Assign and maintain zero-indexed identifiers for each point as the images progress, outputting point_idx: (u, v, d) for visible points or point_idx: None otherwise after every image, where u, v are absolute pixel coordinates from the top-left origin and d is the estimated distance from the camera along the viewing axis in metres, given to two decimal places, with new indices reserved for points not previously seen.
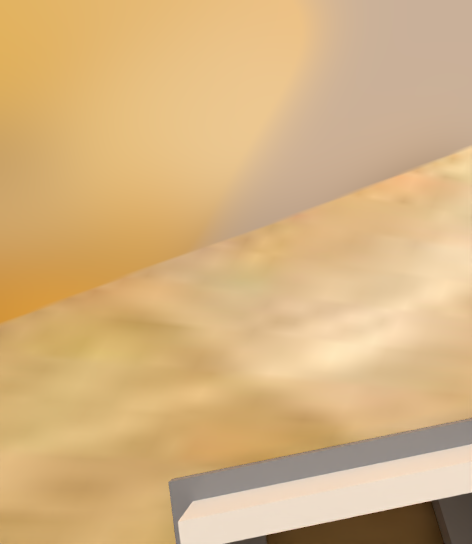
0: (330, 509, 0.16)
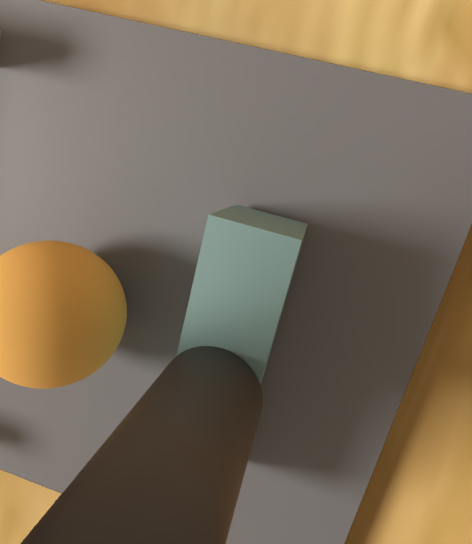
0: None
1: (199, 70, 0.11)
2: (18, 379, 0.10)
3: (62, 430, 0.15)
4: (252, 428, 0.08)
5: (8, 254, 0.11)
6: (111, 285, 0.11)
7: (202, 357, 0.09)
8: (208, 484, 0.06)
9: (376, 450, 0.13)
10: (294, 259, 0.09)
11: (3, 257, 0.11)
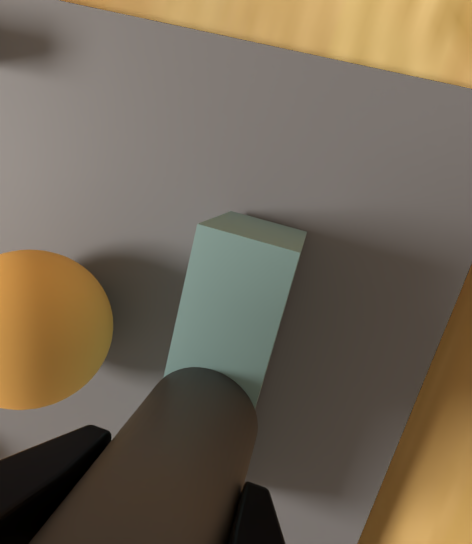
0: None
1: (190, 66, 0.11)
2: None
3: None
4: (245, 462, 0.07)
5: None
6: (95, 298, 0.10)
7: (190, 381, 0.08)
8: (190, 542, 0.05)
9: (380, 473, 0.12)
10: (292, 273, 0.08)
11: None
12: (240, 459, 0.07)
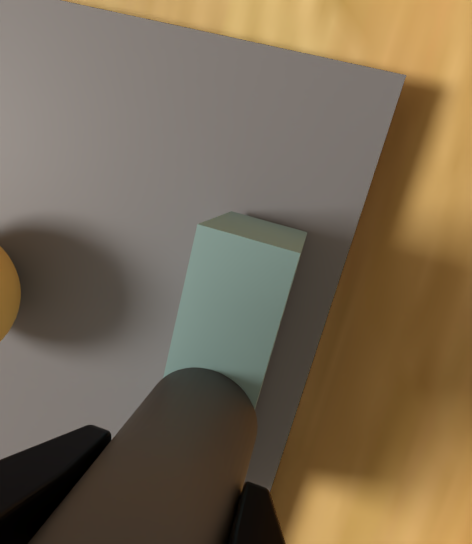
0: None
1: (87, 43, 0.11)
2: None
3: None
4: (244, 463, 0.07)
5: None
6: None
7: (190, 381, 0.08)
8: (190, 543, 0.05)
9: (281, 439, 0.12)
10: (292, 274, 0.08)
11: None
12: (239, 460, 0.07)
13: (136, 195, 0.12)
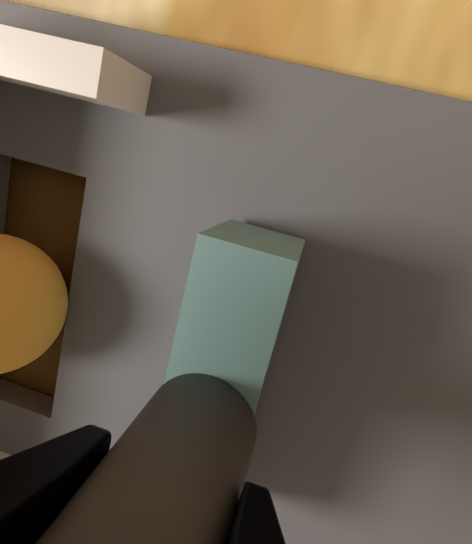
0: None
1: (388, 123, 0.10)
2: None
3: None
4: (244, 467, 0.07)
5: (45, 255, 0.12)
6: None
7: (191, 387, 0.08)
8: None
9: None
10: (290, 282, 0.08)
11: (48, 258, 0.12)
12: (239, 464, 0.07)
13: (425, 284, 0.11)
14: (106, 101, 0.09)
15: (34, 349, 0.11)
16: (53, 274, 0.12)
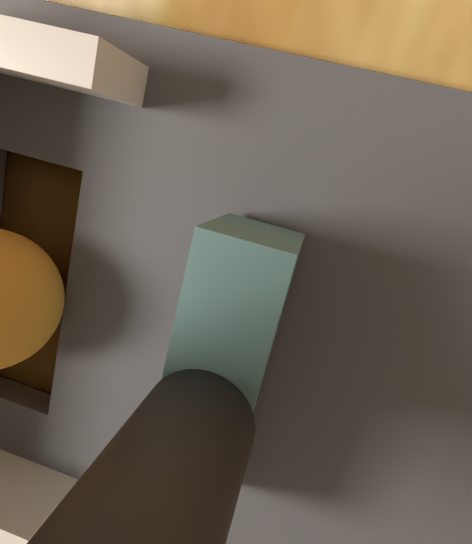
0: None
1: (389, 115, 0.10)
2: None
3: None
4: (242, 464, 0.07)
5: (41, 250, 0.12)
6: None
7: (188, 383, 0.08)
8: None
9: None
10: (289, 276, 0.08)
11: (44, 253, 0.12)
12: (237, 461, 0.07)
13: (426, 278, 0.11)
14: (102, 92, 0.09)
15: (30, 345, 0.11)
16: (49, 269, 0.12)
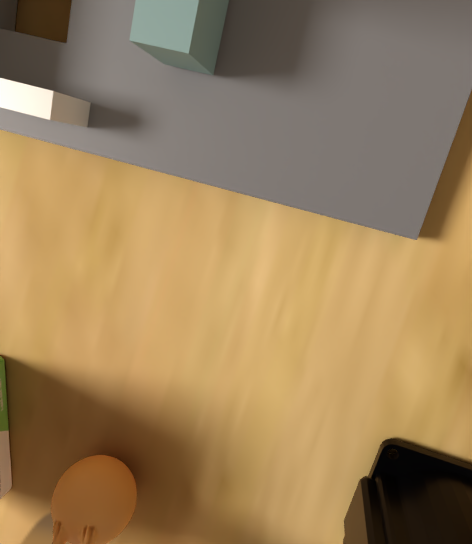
0: None
1: None
2: None
3: (179, 106, 0.17)
4: None
5: None
6: None
7: None
8: None
9: None
10: None
11: None
12: None
13: None
14: None
15: None
16: None
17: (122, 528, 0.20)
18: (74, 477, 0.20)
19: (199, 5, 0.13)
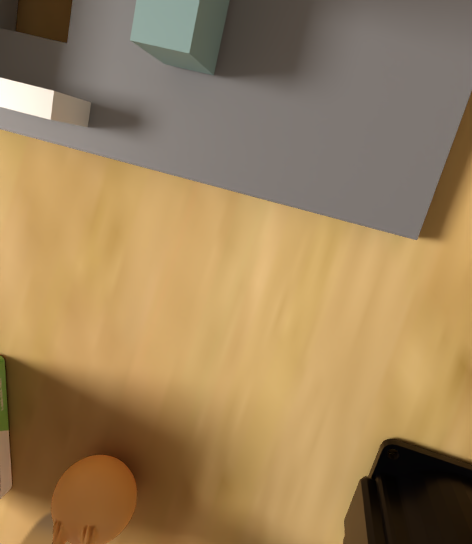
0: None
1: None
2: None
3: (179, 106, 0.17)
4: None
5: None
6: None
7: None
8: None
9: None
10: None
11: None
12: None
13: None
14: None
15: None
16: None
17: (122, 528, 0.20)
18: (74, 477, 0.20)
19: (200, 5, 0.13)
